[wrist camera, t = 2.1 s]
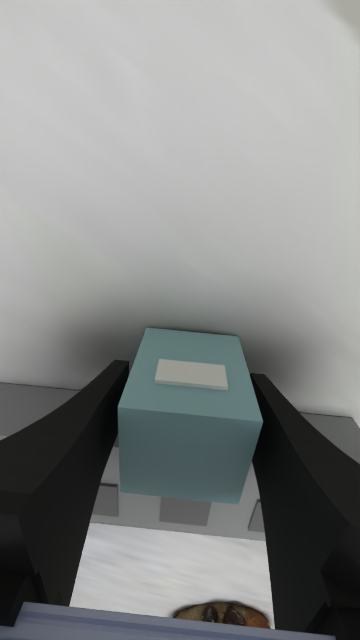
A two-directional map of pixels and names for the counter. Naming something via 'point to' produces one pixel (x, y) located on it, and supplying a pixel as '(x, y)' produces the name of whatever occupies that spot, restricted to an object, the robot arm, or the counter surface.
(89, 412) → the robot arm
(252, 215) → the counter surface
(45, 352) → the counter surface
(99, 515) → the power strip
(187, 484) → the block
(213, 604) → the bread roll
